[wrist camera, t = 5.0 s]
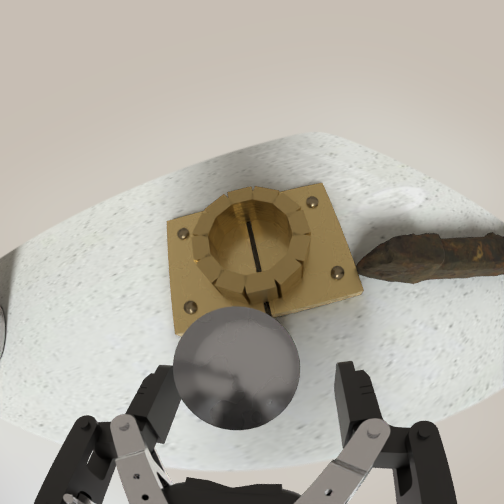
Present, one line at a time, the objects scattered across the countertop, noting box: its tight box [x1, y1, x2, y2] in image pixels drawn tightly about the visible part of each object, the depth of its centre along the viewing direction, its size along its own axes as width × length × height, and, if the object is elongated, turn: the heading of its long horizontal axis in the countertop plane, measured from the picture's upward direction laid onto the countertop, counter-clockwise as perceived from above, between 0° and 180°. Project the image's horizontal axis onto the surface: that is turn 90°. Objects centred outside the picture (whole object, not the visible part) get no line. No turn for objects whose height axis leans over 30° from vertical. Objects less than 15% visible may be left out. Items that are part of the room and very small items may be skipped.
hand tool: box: [356, 232, 504, 284], centre depth 17 cm, size 19×4×5 cm, turn 86°
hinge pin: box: [173, 306, 300, 430], centre depth 13 cm, size 4×4×11 cm
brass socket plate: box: [167, 183, 364, 336], centre depth 20 cm, size 14×10×4 cm
